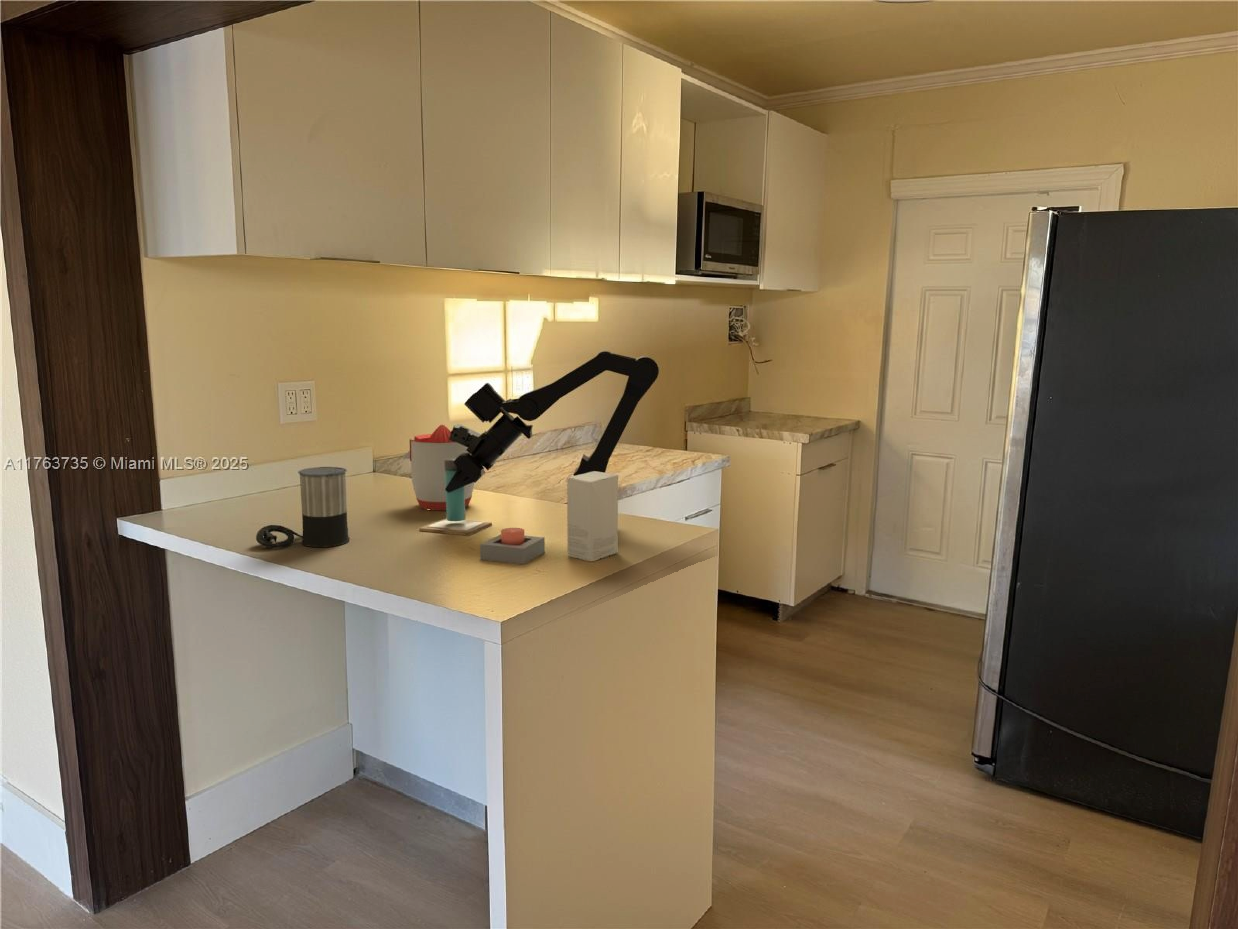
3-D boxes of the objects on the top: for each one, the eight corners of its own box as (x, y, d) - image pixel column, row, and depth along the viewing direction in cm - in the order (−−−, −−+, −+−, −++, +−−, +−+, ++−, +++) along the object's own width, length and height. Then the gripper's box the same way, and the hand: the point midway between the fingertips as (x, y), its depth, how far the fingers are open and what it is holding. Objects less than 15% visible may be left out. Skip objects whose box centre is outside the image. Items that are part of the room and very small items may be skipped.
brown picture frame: (491, 525, 187) (491, 521, 187) (468, 535, 177) (468, 531, 177) (444, 520, 191) (444, 517, 191) (419, 530, 182) (419, 527, 181)
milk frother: (359, 541, 173) (356, 469, 170) (290, 558, 160) (286, 480, 158) (316, 531, 181) (313, 462, 178) (247, 546, 168) (242, 472, 166)
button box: (544, 552, 164) (544, 537, 164) (523, 564, 156) (523, 548, 156) (503, 548, 167) (502, 533, 167) (480, 559, 159) (480, 544, 159)
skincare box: (594, 548, 168) (594, 470, 165) (620, 554, 164) (620, 474, 161) (565, 556, 161) (565, 476, 159) (591, 563, 157) (591, 480, 155)
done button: (528, 544, 163) (528, 528, 162) (518, 549, 159) (517, 534, 158) (507, 542, 164) (507, 526, 164) (497, 547, 160) (496, 532, 160)
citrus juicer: (411, 500, 213) (408, 420, 210) (480, 500, 214) (479, 420, 211) (397, 513, 198) (394, 428, 195) (472, 513, 199) (470, 428, 195)
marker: (469, 519, 183) (467, 460, 181) (451, 522, 181) (449, 461, 179) (460, 516, 187) (458, 457, 185) (442, 518, 184) (440, 459, 182)
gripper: (479, 407, 189) (431, 456, 191) (462, 416, 171) (410, 470, 173) (515, 442, 190) (467, 490, 192) (502, 455, 172) (449, 508, 174)
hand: (448, 489), depth 183 cm, fingers closed on marker, 4 cm apart
